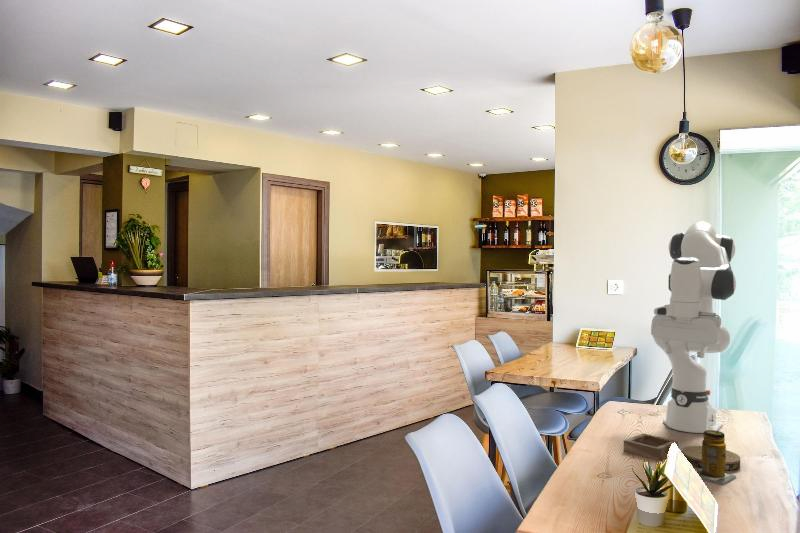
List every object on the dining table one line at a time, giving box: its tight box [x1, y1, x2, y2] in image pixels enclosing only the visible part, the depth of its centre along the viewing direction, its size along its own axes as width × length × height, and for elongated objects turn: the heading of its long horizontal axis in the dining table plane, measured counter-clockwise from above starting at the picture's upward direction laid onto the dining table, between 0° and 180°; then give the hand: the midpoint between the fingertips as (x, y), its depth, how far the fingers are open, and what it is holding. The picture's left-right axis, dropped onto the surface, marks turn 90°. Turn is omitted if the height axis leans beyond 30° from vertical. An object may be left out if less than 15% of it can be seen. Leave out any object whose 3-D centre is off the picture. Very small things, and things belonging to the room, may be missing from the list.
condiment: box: [696, 430, 732, 481], centre depth 177 cm, size 7×8×12 cm
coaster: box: [698, 468, 737, 486], centre depth 177 cm, size 9×9×1 cm
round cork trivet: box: [681, 445, 741, 473], centre depth 190 cm, size 16×16×3 cm
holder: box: [623, 433, 679, 461], centre depth 200 cm, size 13×12×4 cm
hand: (684, 355), depth 193 cm, fingers open, 8 cm apart
